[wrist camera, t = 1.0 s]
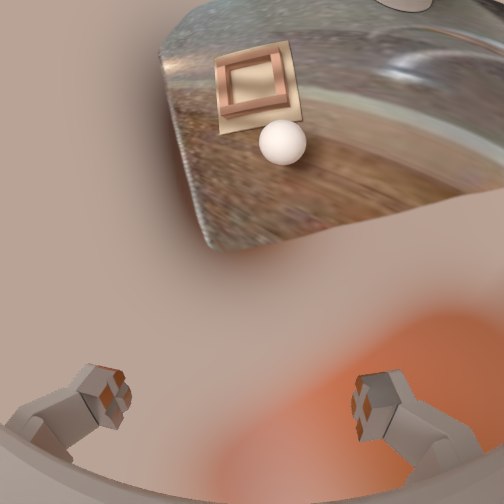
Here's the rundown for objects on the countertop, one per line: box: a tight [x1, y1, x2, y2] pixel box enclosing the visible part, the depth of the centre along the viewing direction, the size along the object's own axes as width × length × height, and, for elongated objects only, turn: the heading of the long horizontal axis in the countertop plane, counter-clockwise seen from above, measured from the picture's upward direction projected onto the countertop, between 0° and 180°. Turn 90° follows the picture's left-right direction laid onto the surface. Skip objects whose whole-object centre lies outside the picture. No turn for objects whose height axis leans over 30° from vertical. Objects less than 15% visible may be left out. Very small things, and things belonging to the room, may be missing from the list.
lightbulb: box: [259, 120, 306, 165], centre depth 37 cm, size 6×6×11 cm
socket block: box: [214, 41, 303, 135], centre depth 40 cm, size 16×14×3 cm
